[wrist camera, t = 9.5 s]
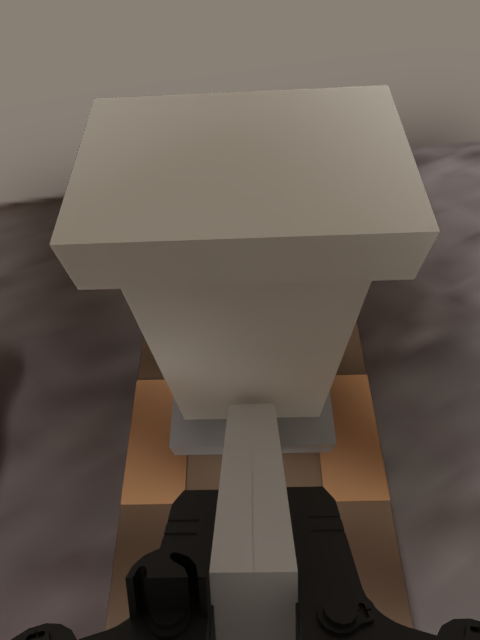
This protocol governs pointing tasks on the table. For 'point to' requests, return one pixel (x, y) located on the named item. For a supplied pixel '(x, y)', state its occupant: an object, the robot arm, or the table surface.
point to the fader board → (300, 471)
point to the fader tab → (245, 241)
